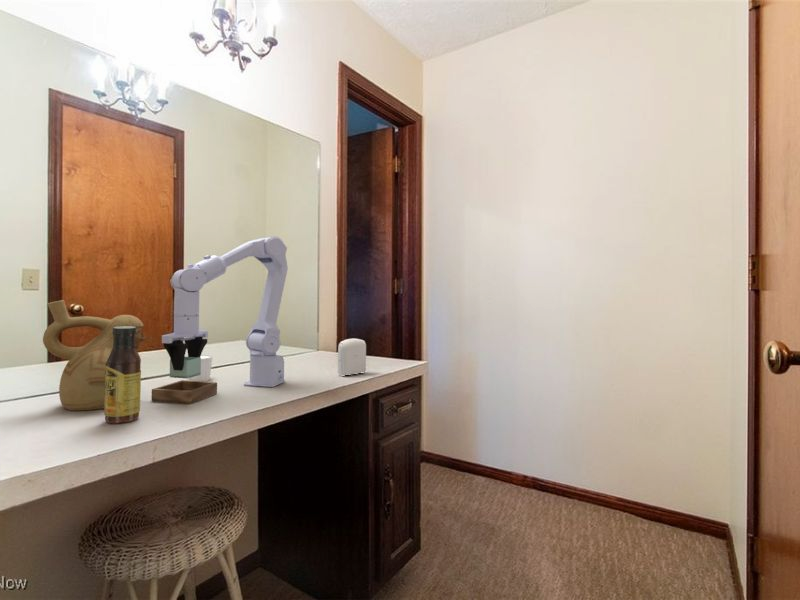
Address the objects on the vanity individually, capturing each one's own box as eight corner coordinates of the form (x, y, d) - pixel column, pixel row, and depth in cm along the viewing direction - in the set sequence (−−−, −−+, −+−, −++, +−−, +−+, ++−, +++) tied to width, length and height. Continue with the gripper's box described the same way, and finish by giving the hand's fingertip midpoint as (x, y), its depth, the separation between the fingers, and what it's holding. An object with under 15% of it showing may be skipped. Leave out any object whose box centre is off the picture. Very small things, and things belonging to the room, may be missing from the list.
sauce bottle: (101, 419, 84) (102, 326, 84) (136, 413, 88) (137, 324, 88) (107, 427, 79) (108, 328, 79) (143, 421, 84) (144, 327, 83)
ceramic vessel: (151, 404, 95) (152, 301, 95) (41, 420, 82) (42, 300, 82) (139, 390, 108) (140, 299, 108) (43, 402, 95) (43, 298, 95)
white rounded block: (205, 382, 119) (205, 359, 119) (182, 381, 120) (182, 358, 119) (216, 377, 126) (216, 355, 126) (194, 377, 126) (195, 355, 126)
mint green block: (184, 373, 105) (184, 356, 105) (200, 374, 104) (200, 357, 104) (169, 377, 100) (169, 359, 100) (186, 378, 99) (187, 360, 99)
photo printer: (342, 377, 130) (343, 340, 130) (335, 375, 133) (336, 338, 133) (367, 373, 137) (368, 338, 137) (360, 371, 140) (360, 337, 140)
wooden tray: (217, 393, 107) (217, 382, 107) (189, 404, 96) (190, 392, 96) (181, 391, 109) (182, 380, 109) (151, 401, 98) (151, 389, 98)
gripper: (180, 317, 94) (179, 374, 95) (218, 314, 109) (217, 364, 109) (154, 316, 95) (153, 372, 96) (195, 313, 110) (194, 362, 110)
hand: (185, 368), depth 102 cm, fingers closed on mint green block, 5 cm apart
